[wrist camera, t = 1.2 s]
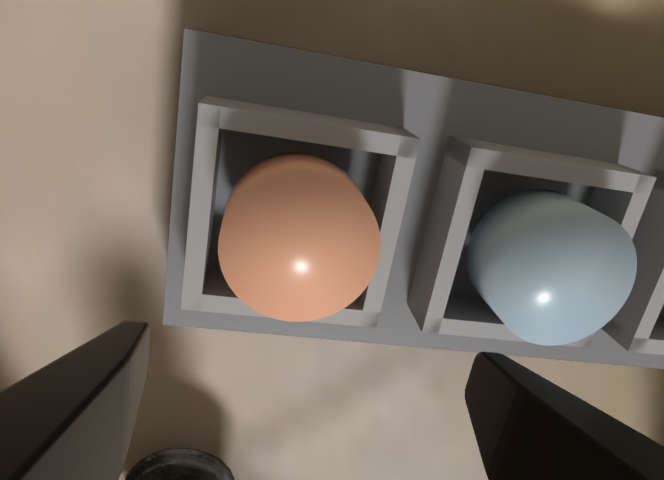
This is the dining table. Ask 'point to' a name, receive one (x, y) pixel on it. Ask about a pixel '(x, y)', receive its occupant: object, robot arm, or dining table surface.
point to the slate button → (551, 266)
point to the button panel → (407, 190)
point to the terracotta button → (298, 238)
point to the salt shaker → (180, 466)
